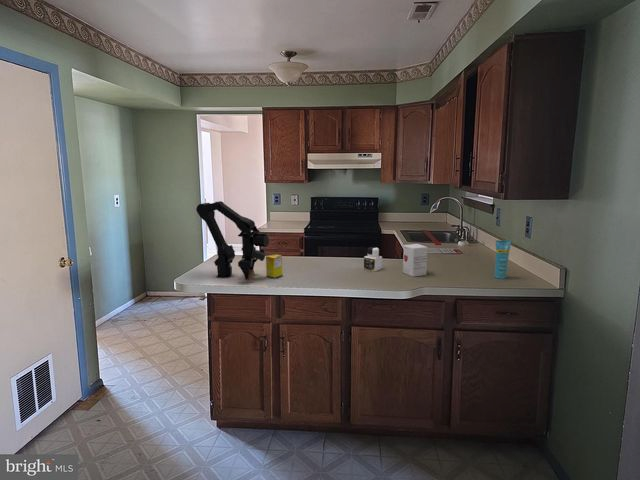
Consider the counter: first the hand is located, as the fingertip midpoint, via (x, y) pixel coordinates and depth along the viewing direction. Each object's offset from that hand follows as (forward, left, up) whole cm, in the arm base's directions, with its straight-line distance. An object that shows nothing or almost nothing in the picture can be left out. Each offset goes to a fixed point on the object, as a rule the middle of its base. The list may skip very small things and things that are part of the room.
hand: (249, 275), depth 206 cm
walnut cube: (0, 0, -2) cm, 2 cm away
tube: (+126, +8, -2) cm, 126 cm away
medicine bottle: (+63, +21, -2) cm, 66 cm away
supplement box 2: (+84, +13, -2) cm, 85 cm away
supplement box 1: (+12, +4, -2) cm, 13 cm away
